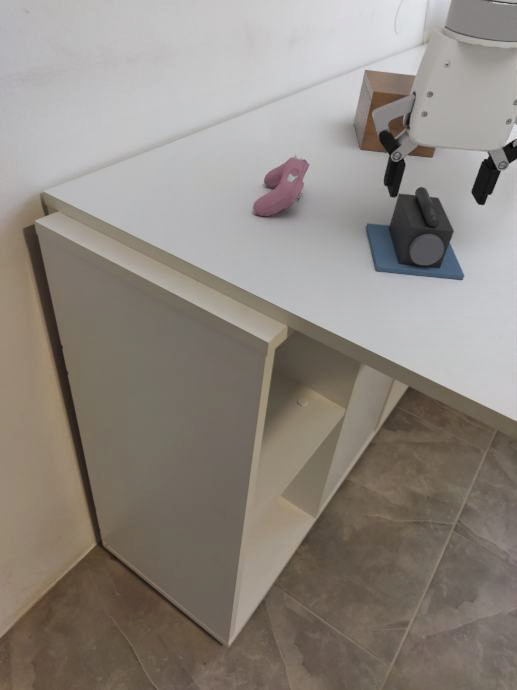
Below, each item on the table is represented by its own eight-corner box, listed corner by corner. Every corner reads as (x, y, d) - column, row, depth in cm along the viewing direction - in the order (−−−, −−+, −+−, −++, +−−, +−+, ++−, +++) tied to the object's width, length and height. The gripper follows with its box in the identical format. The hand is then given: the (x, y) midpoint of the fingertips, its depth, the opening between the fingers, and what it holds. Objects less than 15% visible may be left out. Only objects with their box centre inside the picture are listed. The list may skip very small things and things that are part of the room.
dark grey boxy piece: (425, 229, 67) (440, 184, 63) (441, 272, 60) (460, 223, 56) (387, 225, 67) (400, 179, 63) (399, 267, 60) (415, 219, 56)
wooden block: (419, 131, 97) (434, 77, 91) (432, 157, 88) (450, 100, 82) (353, 123, 96) (364, 69, 90) (360, 149, 87) (373, 91, 81)
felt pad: (443, 235, 68) (445, 231, 68) (462, 280, 61) (464, 275, 60) (365, 227, 68) (367, 222, 67) (375, 271, 60) (377, 266, 60)
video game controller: (278, 232, 68) (311, 190, 63) (248, 212, 67) (279, 168, 62) (289, 198, 75) (318, 158, 71) (262, 179, 74) (290, 138, 70)
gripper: (568, 19, 51) (501, 187, 63) (388, 2, 51) (354, 174, 62) (602, 38, 45) (521, 219, 57) (401, 20, 45) (360, 205, 57)
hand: (434, 195), depth 60 cm, fingers open, 9 cm apart
